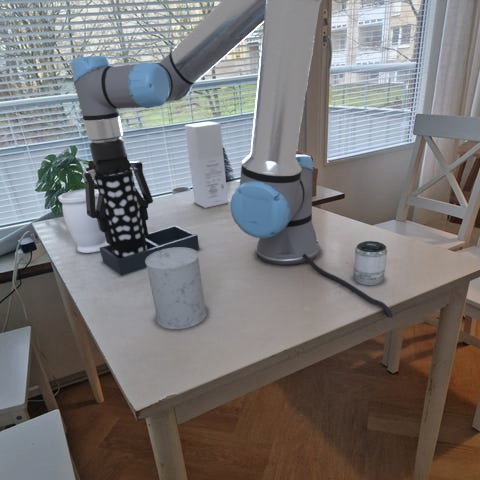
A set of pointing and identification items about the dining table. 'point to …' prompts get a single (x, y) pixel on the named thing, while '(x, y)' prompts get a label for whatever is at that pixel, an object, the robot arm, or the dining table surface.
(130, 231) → the white-spotted black cylinder
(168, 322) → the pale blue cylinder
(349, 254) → the dining table surface
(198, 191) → the tall white carton
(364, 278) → the camera lens
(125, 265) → the divided tray
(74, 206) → the jar
